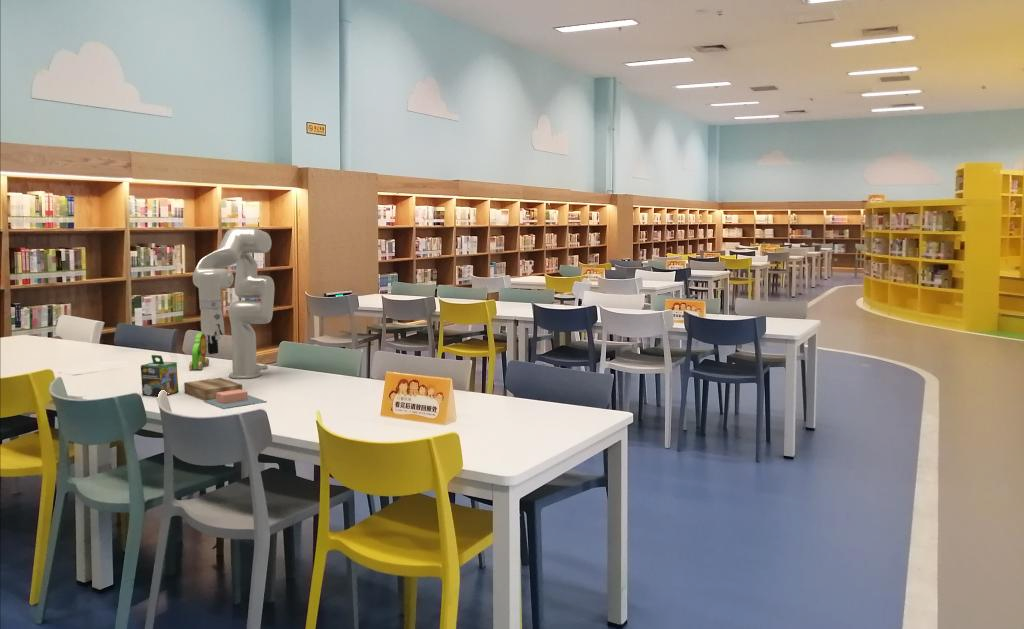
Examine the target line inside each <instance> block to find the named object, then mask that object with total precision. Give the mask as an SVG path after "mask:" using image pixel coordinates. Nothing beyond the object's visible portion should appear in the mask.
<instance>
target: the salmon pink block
mask: <svg viewBox="0 0 1024 629" xmlns="http://www.w3.org/2000/svg"><path fill="white" fill-rule="evenodd" d="M248 395H249V394H248V391H246V390H243V389H242V390H241V389H239V390H232V391H225V392H218V393H216V401H217V402H220V403H223V404H225V403H232V402H238V401H245V400H248Z"/></svg>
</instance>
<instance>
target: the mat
mask: <svg viewBox="0 0 1024 629" xmlns="http://www.w3.org/2000/svg"><path fill="white" fill-rule="evenodd" d="M202 401H203V403H206V404H209V405H212V406H213V407H214V406H215V407H216V408H217V407H218V408H219V409H223V410H225V409H226V410H227V409H233V408H238V407H245V406H250V404H252V405H256V404H255V403H258V404H260V403H259V402H263V401H264V399H261V398H258V397H255V396H252V395H249V394H248V400H245V401H238V402H232V403H225V404H223V403H220V402H217V401H216V399H211V400H202Z"/></svg>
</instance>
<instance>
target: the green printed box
mask: <svg viewBox="0 0 1024 629" xmlns="http://www.w3.org/2000/svg"><path fill="white" fill-rule="evenodd" d="M150 357H151V360H152V362H149V363H145V364H141V365H140V377H141V378H140V379H141V390H142V391H141V393H142V394H148V395H147V396H149V395H155V396H154V397H158V394H159V392H160V391H161V390H165V391H166V392H167V394H168V393H169V395H171V394H175V393H178V392H179V378H178V365H177V364H178V363H177V362H176V361H164V360H163V355H158V354H151V355H150ZM156 359H159V361H158V360H156Z"/></svg>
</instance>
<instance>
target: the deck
mask: <svg viewBox="0 0 1024 629" xmlns="http://www.w3.org/2000/svg"><path fill="white" fill-rule="evenodd" d="M183 386H184V394H186V395H189V396H192V397H193V398H197V399H200V400H202V401H205V400H211V399H216V393H218V392H225V391H232V390H239V389H241V390H243V384H241V383H238V382H235V381H231V380H228V379H225V378H223V377H218V378H217V377H216V378H209V379H201V380H193V381H187V382H186V381H185V382H183Z"/></svg>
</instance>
